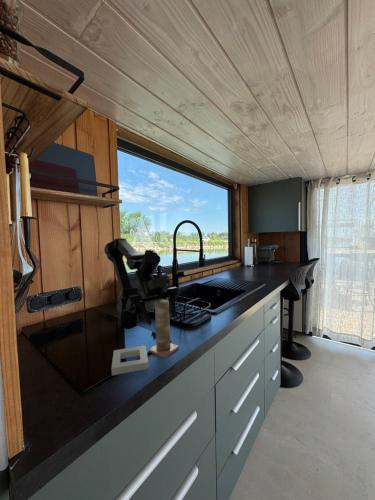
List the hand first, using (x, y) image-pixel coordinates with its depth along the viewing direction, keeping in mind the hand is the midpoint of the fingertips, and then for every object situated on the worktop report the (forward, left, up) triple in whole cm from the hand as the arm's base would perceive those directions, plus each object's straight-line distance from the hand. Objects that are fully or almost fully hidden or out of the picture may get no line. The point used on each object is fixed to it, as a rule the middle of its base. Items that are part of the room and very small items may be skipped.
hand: (163, 320), depth 73 cm
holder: (-10, -6, -10) cm, 15 cm away
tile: (0, 0, -10) cm, 10 cm away
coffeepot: (-10, +40, -10) cm, 43 cm away
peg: (0, +1, -9) cm, 9 cm away
